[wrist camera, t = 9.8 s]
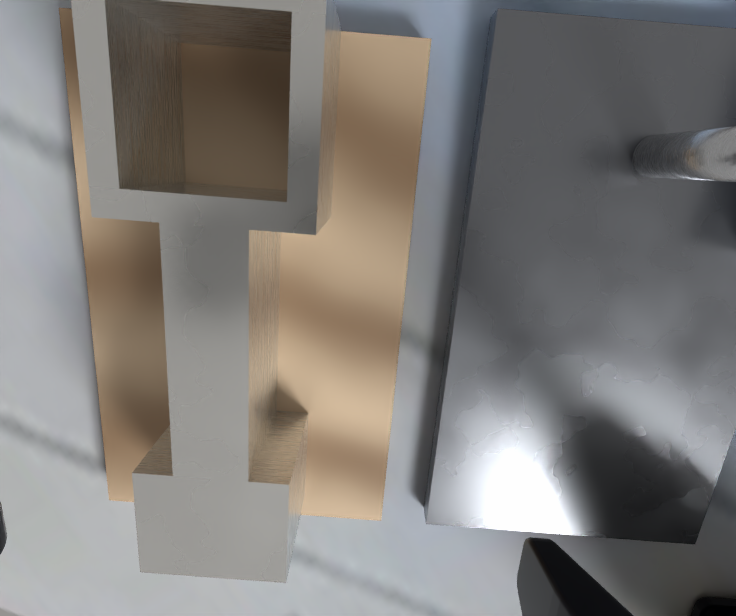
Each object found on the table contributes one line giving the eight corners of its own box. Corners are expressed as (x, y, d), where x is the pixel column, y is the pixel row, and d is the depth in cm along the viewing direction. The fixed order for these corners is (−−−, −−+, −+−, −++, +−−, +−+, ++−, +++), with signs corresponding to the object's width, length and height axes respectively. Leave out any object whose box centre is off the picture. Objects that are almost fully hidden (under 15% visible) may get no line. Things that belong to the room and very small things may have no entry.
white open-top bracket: (316, 495, 20) (300, 584, 16) (178, 485, 20) (125, 570, 16) (341, 28, 15) (327, -26, 11) (154, 13, 15) (66, -47, 11)
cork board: (380, 504, 22) (381, 520, 21) (121, 485, 22) (109, 500, 21) (428, 45, 16) (431, 38, 15) (77, 16, 16) (58, 7, 15)
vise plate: (681, 527, 22) (777, 643, 17) (423, 508, 22) (439, 618, 16) (842, 47, 16) (1072, -10, 11) (490, 17, 16) (547, -55, 11)
